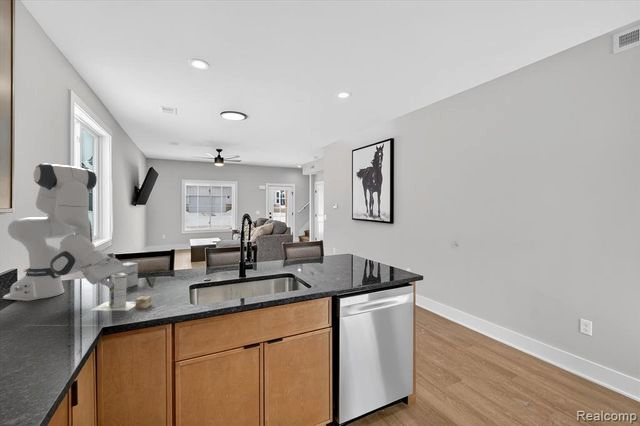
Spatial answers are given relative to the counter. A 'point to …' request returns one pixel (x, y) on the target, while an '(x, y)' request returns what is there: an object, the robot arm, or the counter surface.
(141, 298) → the beech block
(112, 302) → the syrup box
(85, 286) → the counter surface
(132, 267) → the supplement box
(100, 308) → the envelope
